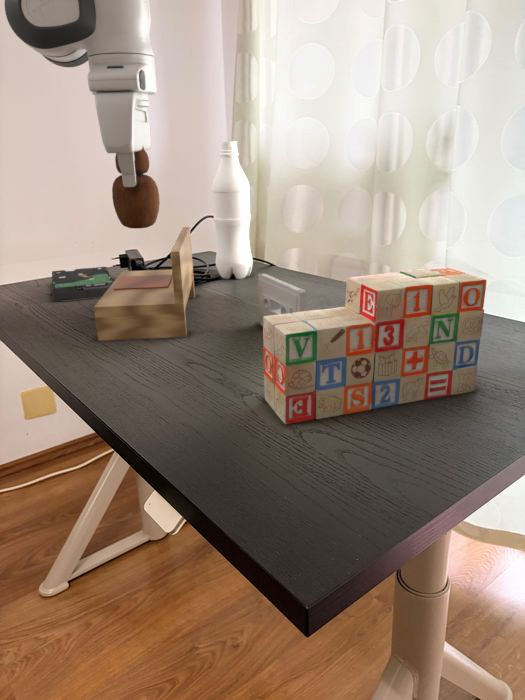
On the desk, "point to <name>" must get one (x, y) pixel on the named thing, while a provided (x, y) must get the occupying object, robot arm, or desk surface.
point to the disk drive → (80, 283)
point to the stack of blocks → (376, 345)
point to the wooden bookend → (149, 299)
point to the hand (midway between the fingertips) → (134, 184)
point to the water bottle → (231, 215)
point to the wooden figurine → (136, 196)
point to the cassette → (278, 297)
